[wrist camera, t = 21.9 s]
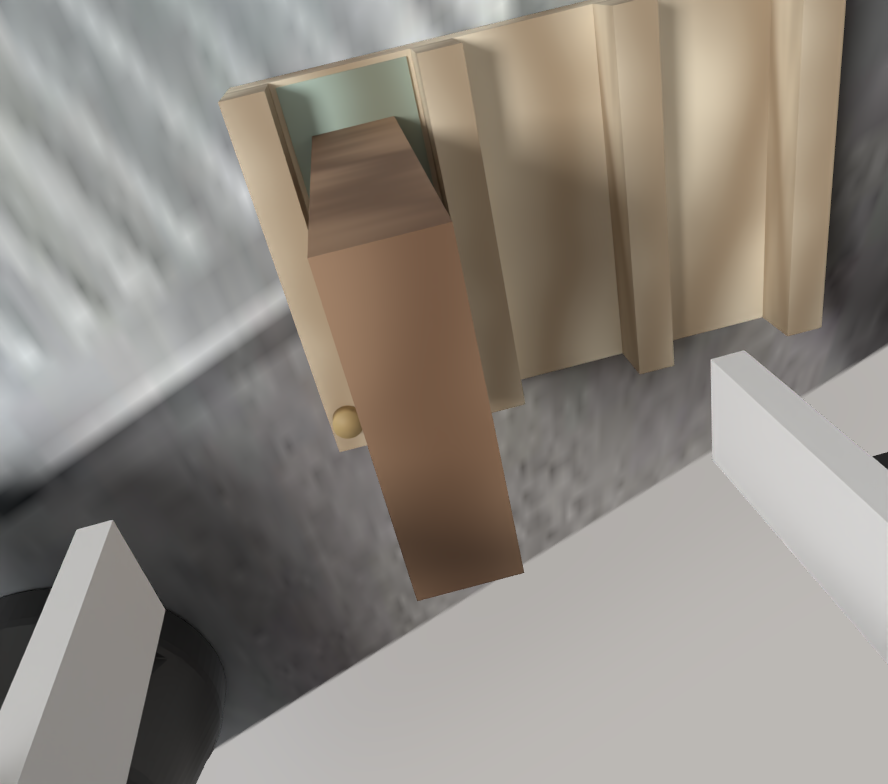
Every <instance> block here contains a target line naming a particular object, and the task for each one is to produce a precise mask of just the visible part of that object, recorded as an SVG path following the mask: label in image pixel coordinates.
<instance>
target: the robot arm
mask: <svg viewBox="0 0 888 784" xmlns="http://www.w3.org/2000/svg"><path fill="white" fill-rule="evenodd" d="M711 405H712V460H713V461H714V462H715V464H717V466H718V467H719V468H720V469H721V471H722V472H723V473H724V474H725V475H726V476H727V477H728V479H729V480H730V481H731V482H732V483H733V485H734V486H735V487H736V488H737V489H738V490H739V492H740V493H741V494H742V495H743V496H744V497H745V499H746V500H747V501H748V502H749V503H750V504H751V506H752V507H753V508H754V509H755V510H756V512H757V513H758V514H759V515H760V516H761V517H762V518H763V520H764V521H765V522H766V523H767V524H768V525H769V527H770V528H771V529H772V530H773V531H774V533H775V534H776V535H777V536H778V537H779V538H780V539H781V541H782V542H783V543H784V544H785V545H786V547H788V549H789V550H790V551H791V552H792V553H793V555H794V556H795V557H796V558H797V559H798V560H799V562H800V563H801V564H802V565H803V566H804V568H805V569H806V570H807V571H808V572H809V573H810V575H811V576H812V577H813V578H814V579H815V580H816V582H818V584H819V585H820V586H821V587H822V588H823V590H824V591H825V592H826V593H827V594H828V596H829V597H830V598H831V599H832V600H833V601H834V602H835V604H836V605H837V606H838V607H839V608H840V610H841V611H842V612H843V613H844V614H845V615H846V617H847V618H848V619H849V620H850V621H851V623H852V624H853V625H854V626H855V627H856V628H857V630H858V631H859V632H860V633H861V634H862V635H863V637H864V638H865V639H866V640H867V641H868V642H869V644H871V646H872V647H873V648H874V649H875V651H876V652H877V653H878V654H879V655H880V656H881V658H882V659H883V660H884V661H885V662H886V663H887V664H888V452H887V453H883V454H880V455H876V456H871V455H869V454H868V453H867V452H866V451H865V450H864V449H862V448H861V447H860V446H859V445H858V444H856V443H855V442H854V441H853V440H852V439H850V438H849V437H848V436H847V435H845V434H844V433H843V432H842V431H841V430H840V429H838V428H837V427H836V426H835V425H834V424H832V423H831V422H830V421H829V420H827V419H826V418H825V417H824V416H823V415H822V414H820V413H819V412H818V411H817V410H816V409H814V408H813V407H812V406H811V405H810V404H808V403H807V402H806V401H805V400H804V399H802V398H801V397H800V396H799V395H798V394H796V393H795V392H794V391H793V390H792V389H790V388H789V387H788V386H787V385H786V384H784V383H783V382H782V381H781V380H780V379H778V378H777V377H776V376H775V375H774V374H772V373H771V372H770V371H769V370H768V369H766V368H765V367H764V366H763V365H762V364H760V363H759V362H758V361H757V360H756V359H754V358H753V357H752V356H751V355H750V354H748V353H747V352H746V351H745V350H743V351H740V352H736V353H732V354H728V355H725V356H721V357H717V358H714V359H711ZM225 695H226V680H225V674H224V670H223V667H222V665H221V662H220V660H219V658H218V656H217V654H216V653H215V651H214V649H213V648H212V647H211V645H210V644H209V643H208V642H207V641H206V639H205V638H204V637H203V636H202V635H201V634H200V633H199V632H198V631H197V630H195V629H194V628H193V627H192V626H190V625H189V624H188V623H186V622H185V621H183V620H182V619H180V618H179V617H177V616H175V615H174V614H172V613H170V612H168V611H166V610H165V608H164V607H163V605H162V603H161V601H160V600H159V598H158V596H157V595H156V593H155V591H154V589H153V588H152V586H151V584H150V583H149V581H148V579H147V577H146V576H145V574H144V572H143V571H142V569H141V567H140V565H139V564H138V562H137V560H136V559H135V557H134V555H133V553H132V552H131V550H130V548H129V547H128V545H127V543H126V541H125V540H124V538H123V536H122V535H121V533H120V531H119V529H118V528H117V526H116V524H115V523H114V521H113V520H110V521H106V522H103V523H99V524H95V525H91V526H88V527H84V528H80V529H77V530H76V532H75V535H74V537H73V539H72V542H71V544H70V546H69V549H68V551H67V554H66V556H65V558H64V561H63V563H62V565H61V568H60V570H59V573H58V575H57V577H56V580H55V582H54V584H53V587H52V589H44V590H35V591H29V592H23V593H18V594H14V595H10V596H6V597H3V598H0V784H196V783H197V780H198V778H199V776H200V774H201V772H202V770H203V768H204V765H205V763H206V761H207V760H208V758H209V757H210V755H211V753H212V752H213V750H214V747H215V745H216V743H217V740H218V737H219V733H220V730H221V725H222V718H223V710H224V703H225Z"/></svg>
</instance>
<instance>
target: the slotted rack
mask: <svg viewBox="0 0 888 784" xmlns="http://www.w3.org/2000/svg"><path fill="white" fill-rule="evenodd" d="M845 7H846V0H588V1H584V2H579V3H575V4H571V5H567V6H563V7H559V8H555V9H551V10H547V11H543V12H539V13H534V14H530V15H526V16H522V17H518V18H514V19H510V20H506V21H502V22H498V23H494V24H489V25H485V26H481V27H477V28H473V29H469V30H465V31H461V32H457V33H453V34H449V35H444V36H440V37H436V38H432V39H428V40H424V41H420V42H416V43H412V44H408V45H404V46H399V47H395V48H391V49H387V50H383V51H379V52H375V53H371V54H367V55H363V56H359V57H354V58H350V59H346V60H342V61H338V62H334V63H330V64H326V65H322V66H318V67H314V68H309V69H305V70H301V71H297V72H293V73H289V74H285V75H281V76H277V77H273V78H268V79H264V80H260V81H256V82H252V83H248V84H244V85H240V86H236V87H232V88H229V90H228V91H227V92H226V93H225V95H224V96H223V97H222V98H221V99H220V101H219V102H218V103H219V106H220V109H221V112H222V115H223V118H224V121H225V123H226V126H227V129H228V132H229V135H230V138H231V141H232V144H233V146H234V149H235V152H236V155H237V158H238V161H239V164H240V167H241V169H242V172H243V175H244V178H245V181H246V184H247V187H248V190H249V192H250V195H251V198H252V201H253V204H254V207H255V210H256V213H257V216H258V218H259V221H260V224H261V227H262V230H263V233H264V236H265V239H266V241H267V244H268V247H269V250H270V253H271V256H272V259H273V262H274V264H275V267H276V270H277V273H278V276H279V279H280V282H281V285H282V287H283V290H284V293H285V296H286V299H287V302H288V305H289V308H290V310H291V313H292V316H293V319H294V322H295V325H296V328H297V331H298V333H299V336H300V339H301V342H302V345H303V348H304V351H305V354H306V356H307V359H308V362H309V365H310V368H311V371H312V374H313V377H314V379H315V382H316V385H317V388H318V391H319V394H320V397H321V400H322V402H323V405H324V408H325V411H326V414H327V417H328V420H329V423H330V426H331V428H332V431H333V434H334V437H335V440H336V443H337V446H338V449H339V451H340V452H342V451H346V450H350V449H354V448H358V447H362V446H365V445H367V443H366V440H365V436H364V433H363V430H362V427H361V424H360V421H359V418H358V415H357V412H356V408H355V405H354V402H353V399H352V396H351V393H350V390H349V387H348V383H347V380H346V377H345V374H344V371H343V368H342V365H341V362H340V359H339V355H338V352H337V349H336V346H335V343H334V340H333V337H332V334H331V330H330V327H329V324H328V321H327V318H326V315H325V312H324V309H323V306H322V302H321V299H320V296H319V293H318V290H317V287H316V284H315V281H314V278H313V274H312V271H311V268H310V265H309V262H308V259H307V254H308V228H309V201H310V175H311V149H312V136H315V135H319V134H323V133H327V132H331V131H335V130H339V129H343V128H348V127H352V126H356V125H360V124H364V123H368V122H372V121H376V120H380V119H384V118H388V117H392V116H394V117H395V119H396V120H397V122H398V124H399V126H400V128H401V129H402V131H403V133H404V135H405V137H406V139H407V140H408V142H409V144H410V146H411V148H412V149H413V151H414V153H415V155H416V157H417V158H418V160H419V162H420V164H421V166H422V168H423V169H424V171H425V173H426V175H427V177H428V178H429V180H430V182H431V184H432V186H433V187H434V189H435V191H436V193H437V195H438V197H439V198H440V200H441V202H442V204H443V206H444V207H445V209H446V211H447V213H448V215H449V216H450V218H451V220H452V222H453V227H454V232H455V237H456V242H457V247H458V251H459V256H460V261H461V266H462V271H463V276H464V281H465V286H466V291H467V296H468V300H469V305H470V310H471V315H472V320H473V325H474V330H475V335H476V340H477V344H478V349H479V354H480V359H481V364H482V369H483V374H484V379H485V384H486V388H487V393H488V398H489V403H490V408H491V413H493V412H497V411H501V410H505V409H508V408H512V407H516V406H520V405H524V404H525V400H524V394H523V388H522V383H521V379H525V378H529V377H533V376H537V375H541V374H544V373H548V372H552V371H556V370H560V369H564V368H568V367H572V366H575V365H579V364H583V363H587V362H591V361H595V360H599V359H603V358H606V357H610V356H614V355H618V354H622V353H623V354H624V356H625V357H626V358H627V359H628V360H629V362H630V363H631V364H632V365H633V367H634V368H635V369H636V370H637V372H638V373H639V374H644V373H647V372H651V371H655V370H659V369H663V368H667V367H671V366H674V353H673V340H676V339H680V338H684V337H688V336H692V335H696V334H699V333H703V332H707V331H711V330H715V329H719V328H723V327H727V326H731V325H734V324H738V323H742V322H746V321H750V320H754V319H758V318H762V317H763V318H764V319H765V320H767V321H768V322H769V323H771V324H772V325H773V326H775V327H776V328H777V329H779V330H780V331H781V332H782V333H784V334H785V335H786V336H790V335H794V334H798V333H802V332H806V331H810V330H814V329H817V328H821V324H822V311H823V298H824V285H825V272H826V258H827V245H828V232H829V219H830V206H831V192H832V179H833V166H834V153H835V139H836V126H837V113H838V100H839V87H840V73H841V60H842V47H843V34H844V21H845Z"/></svg>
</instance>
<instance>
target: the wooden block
mask: <svg viewBox="0 0 888 784" xmlns="http://www.w3.org/2000/svg"><path fill="white" fill-rule="evenodd" d="M307 259H308V262H309V265H310V268H311V271H312V274H313V278H314V281H315V284H316V287H317V290H318V293H319V296H320V299H321V302H322V306H323V309H324V312H325V315H326V318H327V321H328V324H329V327H330V330H331V334H332V337H333V340H334V343H335V346H336V349H337V352H338V355H339V359H340V362H341V365H342V368H343V371H344V374H345V377H346V380H347V383H348V387H349V390H350V393H351V396H352V399H353V402H354V405H355V408H356V412H357V415H358V418H359V421H360V424H361V427H362V430H363V433H364V436H365V440H366V443H367V446H368V449H369V452H370V455H371V458H372V461H373V464H374V468H375V471H376V474H377V477H378V480H379V483H380V486H381V489H382V493H383V496H384V499H385V502H386V505H387V508H388V511H389V514H390V517H391V521H392V524H393V527H394V530H395V533H396V536H397V539H398V542H399V545H400V549H401V552H402V555H403V558H404V561H405V564H406V567H407V570H408V574H409V577H410V580H411V583H412V586H413V589H414V592H415V595H416V598H417V601H420V600H423V599H427V598H431V597H435V596H439V595H442V594H446V593H450V592H454V591H457V590H461V589H465V588H469V587H473V586H476V585H480V584H484V583H488V582H491V581H495V580H499V579H503V578H506V577H510V576H514V575H518V574H522V573H524V570H523V565H522V560H521V555H520V550H519V545H518V540H517V535H516V530H515V525H514V521H513V516H512V511H511V506H510V501H509V496H508V491H507V486H506V481H505V477H504V472H503V467H502V462H501V457H500V452H499V447H498V442H497V437H496V433H495V428H494V423H493V418H492V413H491V408H490V403H489V398H488V393H487V388H486V384H485V379H484V374H483V369H482V364H481V359H480V354H479V349H478V344H477V340H476V335H475V330H474V325H473V320H472V315H471V310H470V305H469V300H468V296H467V291H466V286H465V281H464V276H463V271H462V266H461V261H460V256H459V251H458V247H457V242H456V237H455V232H454V227H453V222H452V220H451V218H450V216H449V215H448V213H447V211H446V209H445V207H444V206H443V204H442V202H441V200H440V198H439V197H438V195H437V193H436V191H435V189H434V187H433V186H432V184H431V182H430V180H429V178H428V177H427V175H426V173H425V171H424V169H423V168H422V166H421V164H420V162H419V160H418V158H417V157H416V155H415V153H414V151H413V149H412V148H411V146H410V144H409V142H408V140H407V139H406V137H405V135H404V133H403V131H402V129H401V128H400V126H399V124H398V122H397V120H396V119H395V117H394V116H392V117H388V118H384V119H380V120H376V121H372V122H368V123H364V124H360V125H356V126H352V127H348V128H343V129H339V130H335V131H331V132H327V133H323V134H319V135H315V136H312V149H311V175H310V201H309V228H308V254H307Z"/></svg>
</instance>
